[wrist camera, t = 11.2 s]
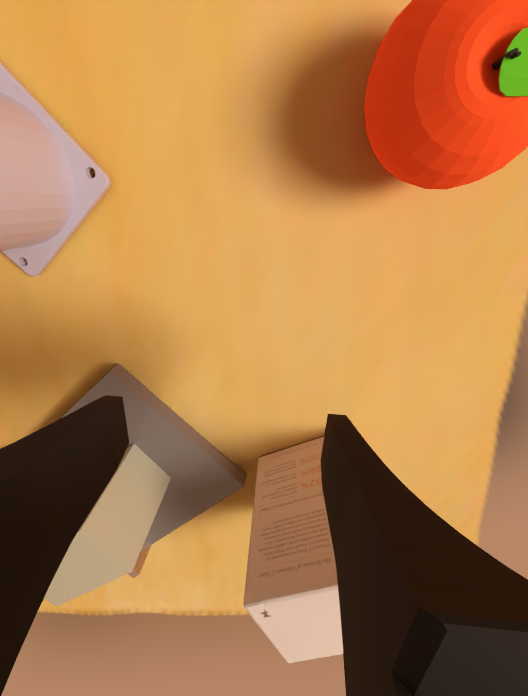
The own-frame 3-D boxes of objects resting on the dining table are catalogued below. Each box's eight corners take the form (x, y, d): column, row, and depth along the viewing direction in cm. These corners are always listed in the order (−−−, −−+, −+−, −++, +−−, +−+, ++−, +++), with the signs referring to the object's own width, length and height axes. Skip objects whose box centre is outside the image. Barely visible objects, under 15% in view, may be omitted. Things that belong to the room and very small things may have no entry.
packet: (72, 481, 26) (4, 571, 20) (133, 443, 24) (78, 530, 18) (110, 511, 27) (56, 606, 21) (171, 478, 25) (131, 571, 19)
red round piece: (551, 36, 15) (764, -94, 8) (483, 205, 17) (599, 208, 11) (374, 4, 14) (446, -154, 8) (335, 179, 17) (364, 167, 11)
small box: (285, 503, 27) (284, 667, 18) (256, 455, 25) (238, 609, 16) (380, 477, 26) (435, 643, 16) (357, 423, 24) (404, 575, 14)
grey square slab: (27, 449, 27) (-10, 485, 23) (118, 363, 23) (88, 391, 19) (149, 536, 30) (132, 578, 27) (245, 474, 26) (239, 514, 23)
